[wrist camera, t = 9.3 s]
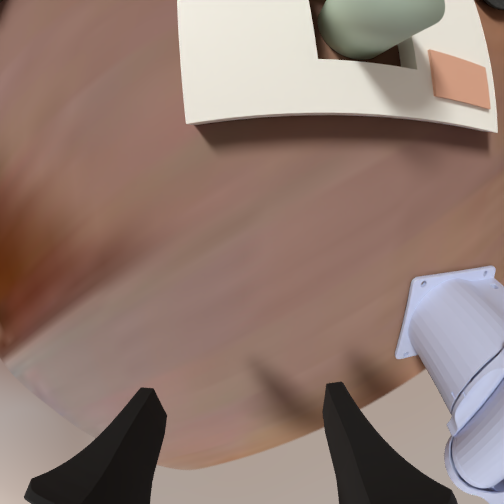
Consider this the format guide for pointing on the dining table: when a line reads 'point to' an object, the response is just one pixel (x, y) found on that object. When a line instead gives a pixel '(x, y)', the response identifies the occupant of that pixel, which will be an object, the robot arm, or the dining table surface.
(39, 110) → the dining table surface
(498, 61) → the dining table surface
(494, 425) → the robot arm
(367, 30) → the peg
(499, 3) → the sushi plate
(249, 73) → the hole board
